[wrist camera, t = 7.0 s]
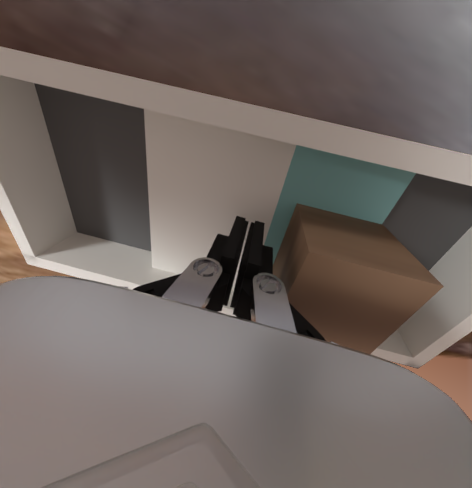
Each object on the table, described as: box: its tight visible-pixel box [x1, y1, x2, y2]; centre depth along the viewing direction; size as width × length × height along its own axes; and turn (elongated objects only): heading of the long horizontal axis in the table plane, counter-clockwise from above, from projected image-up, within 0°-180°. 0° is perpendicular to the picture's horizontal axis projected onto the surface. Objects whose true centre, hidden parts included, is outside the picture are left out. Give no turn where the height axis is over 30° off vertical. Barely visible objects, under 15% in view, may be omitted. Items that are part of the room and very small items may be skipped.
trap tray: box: [0, 46, 472, 368], centre depth 13 cm, size 13×30×4 cm, turn 79°
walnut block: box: [273, 203, 444, 354], centre depth 11 cm, size 5×5×5 cm
